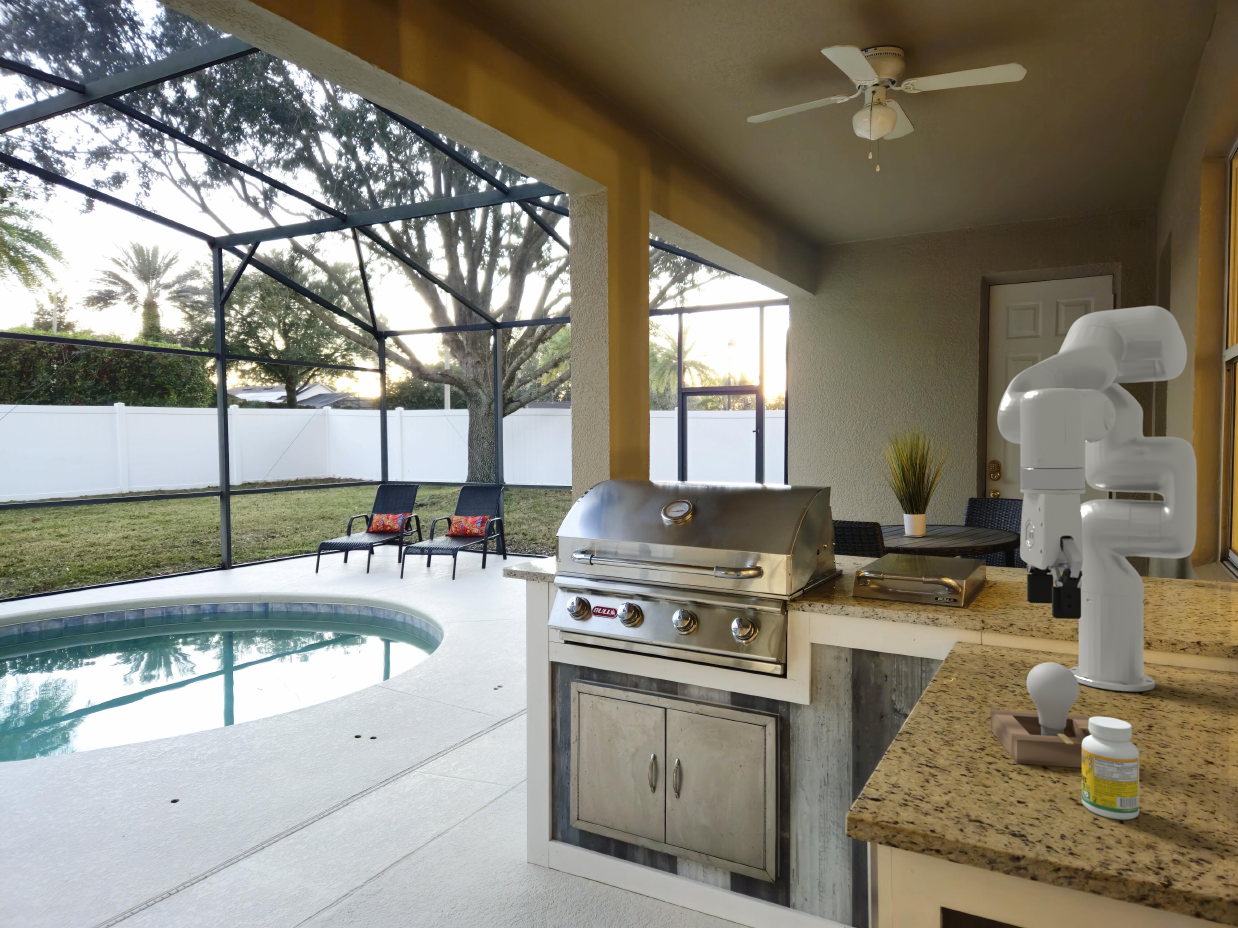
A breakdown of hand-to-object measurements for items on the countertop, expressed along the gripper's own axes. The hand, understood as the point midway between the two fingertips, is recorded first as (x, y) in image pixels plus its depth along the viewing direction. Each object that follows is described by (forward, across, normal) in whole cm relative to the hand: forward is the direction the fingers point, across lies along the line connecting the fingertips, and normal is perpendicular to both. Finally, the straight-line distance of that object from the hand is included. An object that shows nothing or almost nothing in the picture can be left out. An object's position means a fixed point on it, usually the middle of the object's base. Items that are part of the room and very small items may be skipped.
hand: (1052, 610), depth 102 cm
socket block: (+18, +1, 0) cm, 18 cm away
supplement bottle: (+18, +19, 0) cm, 26 cm away
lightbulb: (+18, +1, 0) cm, 18 cm away
